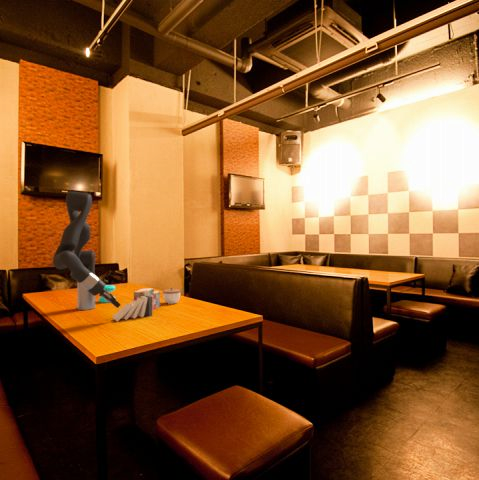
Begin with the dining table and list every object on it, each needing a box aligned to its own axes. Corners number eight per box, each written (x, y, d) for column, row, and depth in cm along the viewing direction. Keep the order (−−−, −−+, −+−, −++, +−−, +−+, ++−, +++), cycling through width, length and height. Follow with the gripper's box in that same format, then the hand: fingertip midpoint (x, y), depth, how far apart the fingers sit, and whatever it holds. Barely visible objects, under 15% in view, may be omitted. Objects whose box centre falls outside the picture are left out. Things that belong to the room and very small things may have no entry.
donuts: (118, 284, 215) (110, 287, 205) (118, 300, 215) (110, 303, 205) (103, 284, 217) (95, 287, 207) (104, 300, 217) (95, 302, 207)
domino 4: (136, 315, 171) (140, 295, 172) (139, 315, 172) (143, 296, 173) (140, 317, 167) (144, 297, 168) (143, 317, 168) (147, 297, 169)
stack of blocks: (150, 306, 195) (149, 285, 195) (160, 306, 194) (160, 285, 194) (133, 315, 173) (133, 291, 173) (145, 315, 173) (144, 291, 173)
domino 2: (120, 316, 165) (133, 299, 169) (122, 318, 166) (135, 301, 170) (124, 318, 161) (137, 301, 165) (126, 320, 162) (139, 303, 166)
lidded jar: (160, 302, 206) (160, 287, 206) (175, 300, 212) (175, 286, 212) (167, 305, 197) (167, 289, 197) (183, 303, 204) (183, 288, 204)
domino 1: (111, 317, 162) (127, 302, 167) (114, 319, 163) (129, 305, 168) (115, 319, 159) (131, 304, 164) (117, 321, 159) (133, 306, 164)
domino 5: (145, 314, 173) (145, 295, 173) (148, 314, 174) (148, 295, 174) (149, 316, 169) (149, 296, 169) (152, 315, 170) (152, 296, 170)
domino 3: (128, 315, 168) (137, 297, 171) (131, 316, 169) (140, 298, 172) (132, 317, 164) (141, 298, 167) (135, 318, 165) (144, 299, 168)
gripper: (102, 278, 151) (129, 302, 159) (94, 276, 161) (119, 298, 169) (90, 291, 147) (118, 314, 155) (82, 288, 158) (108, 310, 166)
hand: (118, 306), depth 162 cm, fingers closed
